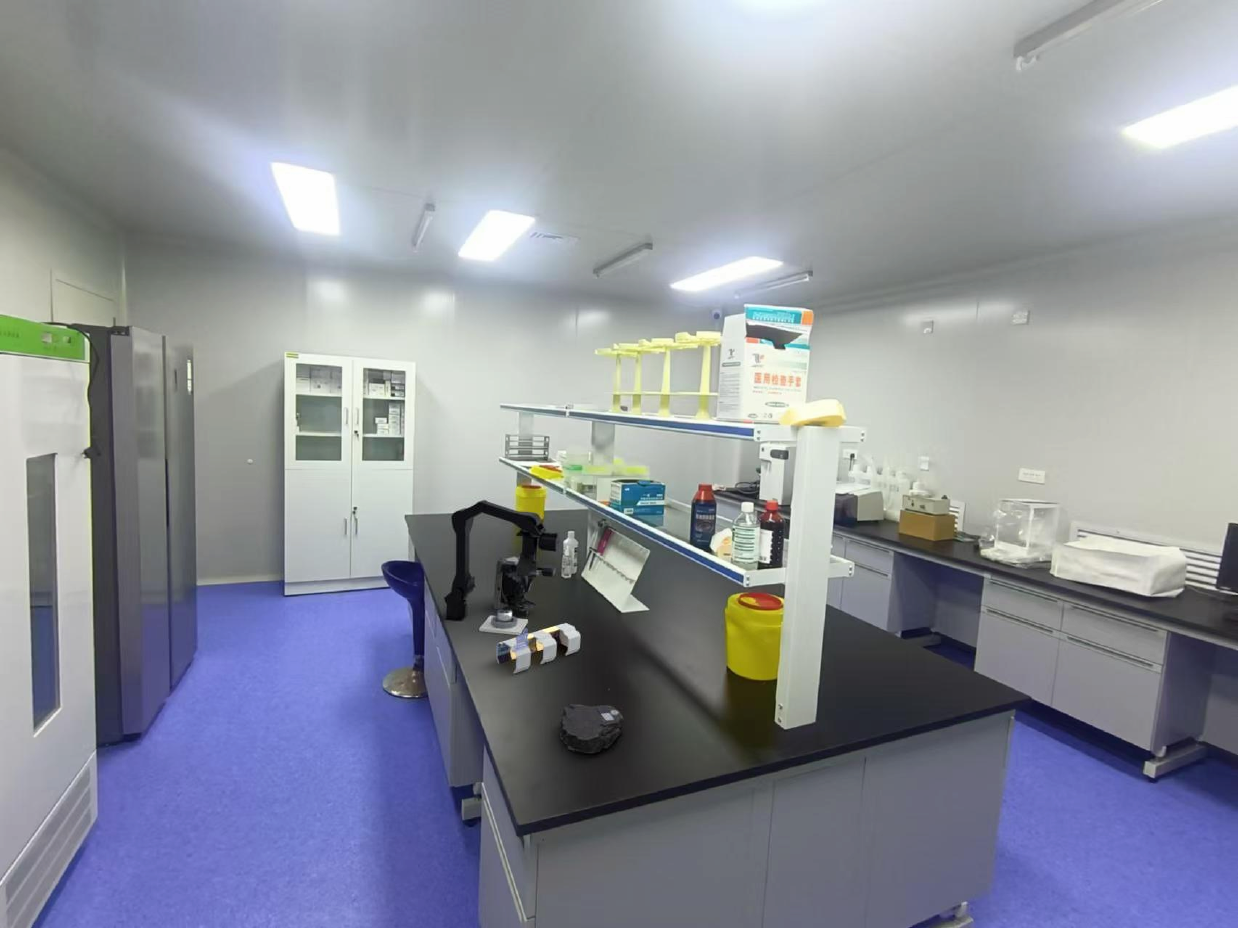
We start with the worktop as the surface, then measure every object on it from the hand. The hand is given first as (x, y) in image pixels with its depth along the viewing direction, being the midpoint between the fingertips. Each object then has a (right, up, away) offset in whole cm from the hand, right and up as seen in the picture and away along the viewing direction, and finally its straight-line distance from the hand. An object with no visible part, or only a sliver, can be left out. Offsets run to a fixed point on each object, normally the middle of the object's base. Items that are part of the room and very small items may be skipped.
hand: (526, 592), depth 197 cm
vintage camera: (-7, -11, +16) cm, 20 cm away
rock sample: (+25, -21, -62) cm, 70 cm away
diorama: (+7, -16, -22) cm, 28 cm away
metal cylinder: (-8, -11, 0) cm, 14 cm away
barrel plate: (-8, -12, 0) cm, 14 cm away
